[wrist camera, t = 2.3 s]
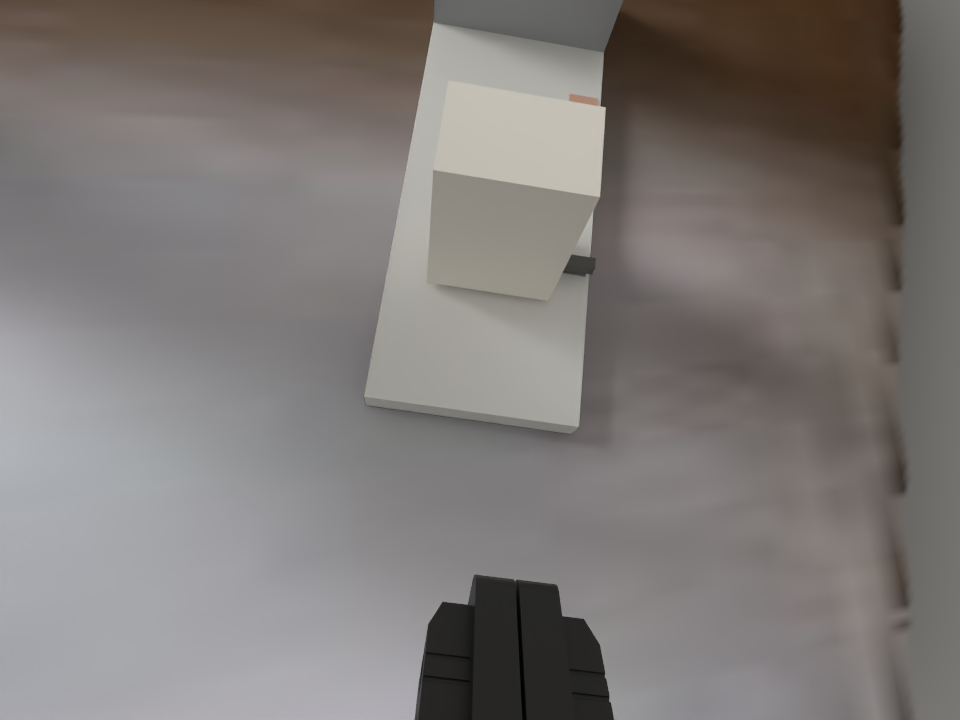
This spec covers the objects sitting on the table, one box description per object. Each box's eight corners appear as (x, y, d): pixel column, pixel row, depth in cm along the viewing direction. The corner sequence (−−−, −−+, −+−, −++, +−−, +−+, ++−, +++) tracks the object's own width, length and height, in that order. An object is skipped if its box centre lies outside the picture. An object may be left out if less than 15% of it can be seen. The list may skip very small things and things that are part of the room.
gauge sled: (426, 282, 31) (433, 169, 22) (441, 191, 33) (452, 55, 24) (588, 307, 31) (654, 206, 23) (594, 216, 33) (657, 91, 25)
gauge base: (365, 405, 30) (341, 308, 20) (445, -25, 40) (458, -250, 29) (571, 434, 31) (657, 355, 20) (601, 3, 40) (671, -207, 30)
